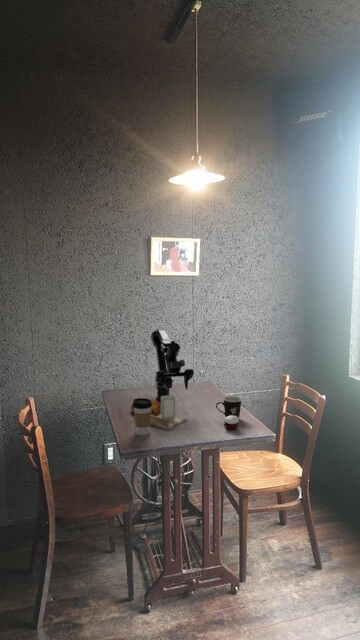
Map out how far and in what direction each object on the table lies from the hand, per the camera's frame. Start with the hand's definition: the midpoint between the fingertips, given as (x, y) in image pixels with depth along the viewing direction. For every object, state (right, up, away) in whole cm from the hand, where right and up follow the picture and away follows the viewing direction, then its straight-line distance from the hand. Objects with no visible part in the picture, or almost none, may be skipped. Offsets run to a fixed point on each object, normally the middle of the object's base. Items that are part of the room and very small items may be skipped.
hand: (177, 390), depth 205 cm
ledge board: (-5, -14, -5) cm, 16 cm away
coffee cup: (-15, -16, -18) cm, 29 cm away
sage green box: (-5, -13, -4) cm, 14 cm away
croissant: (-16, -13, +9) cm, 22 cm away
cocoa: (+25, -16, -14) cm, 32 cm away
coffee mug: (+25, -14, -1) cm, 29 cm away
